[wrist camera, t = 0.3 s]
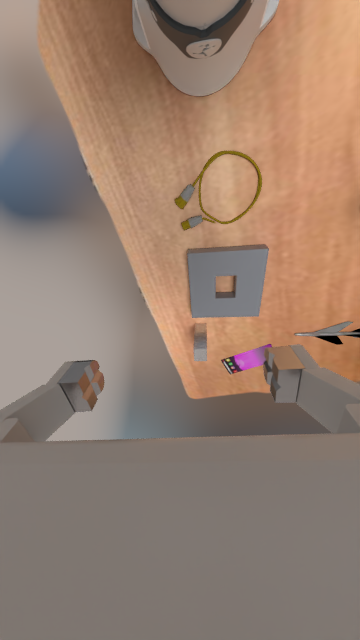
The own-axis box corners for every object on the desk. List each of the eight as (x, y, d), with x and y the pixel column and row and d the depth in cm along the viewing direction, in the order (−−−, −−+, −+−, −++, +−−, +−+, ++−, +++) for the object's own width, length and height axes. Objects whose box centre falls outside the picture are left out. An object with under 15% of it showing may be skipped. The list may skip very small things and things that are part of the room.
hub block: (188, 249, 45) (187, 253, 43) (265, 244, 43) (268, 248, 41) (192, 311, 55) (191, 317, 52) (256, 309, 52) (258, 316, 50)
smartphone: (220, 358, 64) (220, 360, 64) (270, 342, 59) (271, 345, 58) (230, 372, 68) (230, 374, 67) (277, 359, 62) (278, 361, 61)
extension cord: (172, 155, 37) (170, 154, 35) (265, 147, 35) (268, 146, 33) (177, 229, 44) (176, 231, 42) (255, 225, 42) (257, 227, 40)
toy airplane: (296, 321, 54) (299, 326, 52) (387, 319, 51) (394, 325, 49) (290, 343, 58) (292, 349, 56) (374, 342, 55) (379, 348, 54)
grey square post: (195, 323, 57) (193, 348, 49) (206, 323, 56) (206, 348, 48) (195, 335, 59) (194, 361, 51) (206, 335, 59) (206, 361, 51)
